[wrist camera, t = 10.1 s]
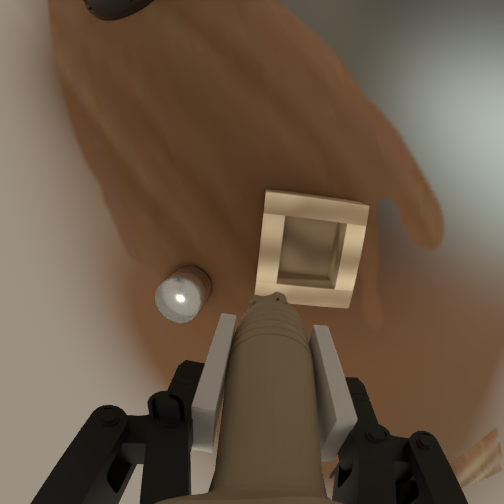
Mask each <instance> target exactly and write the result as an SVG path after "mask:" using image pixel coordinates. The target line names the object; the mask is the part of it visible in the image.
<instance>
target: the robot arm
mask: <svg viewBox="0 0 504 504" xmlns="http://www.w3.org/2000/svg"><path fill="white" fill-rule="evenodd" d="M151 1H153V0H84V2H85V4H86V7H87V9H88V10H89V12H90V13H92V14H93V15H94V16H96V17H97V18H99V19H102V20H115V19H119V18H123V17H126V16H128V15H130V14H133V13H135V12H136V11H138V10H140V9H142V8H143V7H145V6H146V5H148V4H149V3H150V2H151ZM235 323H236V315H231V314H224V313H222V314H221V317H220V320H219V323H218V326H217V329H216V332H215V335H214V338H213V341H212V344H211V347H210V350H209V354H208V356H207V359H206V363H205V364H204V363H199V362H193V361H188V360H185V361H184V362H183V363H181V364H180V365H179V366H178V368H177V370H176V372H175V375H174V377H173V379H172V382H171V383H170V386H169V388H168V390H167V391H160V392H158V393H155V394H154V395H152V396H151V397H150V398H149V400H148V409H149V415H143V416H133V415H126V413H125V412H124V411H123V410H122V409H120V408H119V407H117V406H113V405H103V406H101V407H99V408H97V409H96V410H95V411H93V413H92V414H91V415H90V417H89V418H88V420H87V421H86V423H85V424H84V425H83V427H82V428H81V430H80V431H79V432H78V434H77V435H76V437H75V438H74V440H73V441H72V442H71V444H70V445H69V447H68V448H67V450H66V451H65V453H64V454H63V456H62V457H61V458H60V460H59V461H58V463H57V464H56V466H55V467H54V469H53V470H52V472H51V473H50V475H49V476H48V478H47V479H46V481H45V483H44V484H43V485H42V487H41V488H40V490H39V491H38V493H37V495H36V496H35V498H34V499H33V501H32V502H31V504H118V503H119V501H120V499H121V497H122V495H123V492H124V490H125V488H126V486H127V484H128V482H129V480H130V478H131V476H132V473H133V471H134V469H135V467H136V465H137V464H144V466H143V475H142V485H141V495H140V504H155V503H157V502H159V501H162V500H166V499H170V498H175V497H180V496H187V495H191V466H190V465H191V462H190V452H191V448H192V446H193V449H194V450H199V451H204V452H210V453H212V451H213V447H214V442H215V437H216V432H217V427H218V422H219V417H220V412H221V407H222V402H223V398H224V390H225V380H226V371H227V366H228V360H229V355H230V350H231V346H232V342H233V338H234V332H235ZM309 346H310V349H311V354H312V359H313V365H314V376H315V388H316V401H317V415H318V427H319V439H320V452H321V461H333V460H334V459H335V457H336V456H337V454H338V457H339V463H338V465H337V466H336V468H335V469H334V470H333V471H332V473H331V475H330V478H332V477H333V476H334V475H335V478H334V487H333V496H332V501H336V502H340V503H343V504H468V502H467V500H466V498H465V496H464V493H463V491H462V489H461V487H460V485H459V483H458V481H457V479H456V476H455V474H454V472H453V470H452V468H451V466H450V464H449V462H448V460H447V458H446V456H445V455H444V453H443V451H442V449H441V447H440V445H439V443H438V441H437V439H436V438H435V437H434V436H433V435H432V434H430V433H429V432H425V431H417V432H415V433H413V434H412V435H411V437H410V438H402V437H396V436H392V435H390V433H389V431H388V430H387V429H386V428H385V427H383V426H381V425H379V424H378V421H377V419H376V416H375V413H374V410H373V408H372V405H371V402H370V401H369V397H368V395H367V392H366V389H365V386H364V384H363V383H362V382H361V381H360V380H359V379H358V378H352V377H351V378H350V377H344V374H343V370H342V367H341V364H340V362H339V358H338V355H337V352H336V349H335V346H334V343H333V341H332V337H331V335H330V331H329V329H328V326H321V325H314V326H313V330H312V333H311V337H310V341H309Z"/></svg>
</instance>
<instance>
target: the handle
mask: <svg viewBox="0 0 504 504" xmlns="http://www.w3.org/2000/svg"><path fill="white" fill-rule="evenodd" d="M248 306H249V307H248V310H247V311H246V312H245V314H244V315H243V317H242V319H241V321H240V323H239V325H238V327H237V329H236V332H235V335H234V338H233V342H232V346H231V350H230V355H229V360H228V366H227V371H226V380H225V390H224V400H223V410H222V419H221V427H220V434H219V443H218V450H217V458H216V466H215V467H216V468H215V472H214V475H213V479H212V482H211V485H210V488H209V491H208V493H205V494H198V495H187V496H180V497H175V498H170V499H166V500H162V501H159V502H157V503H155V504H343V503H340V502H336V501H332V500H331V499H330V498H328V497H327V494H326V489H325V484H324V479H323V475H322V467H321V452H320V439H319V427H318V415H317V401H316V388H315V376H314V365H313V359H312V354H311V349H310V346H309V342H308V339H307V336H306V333H305V330H304V327H303V325H302V323H301V321H300V319H299V315H298V312H297V311H296V309H295V308H293V307H291V306H290V305H289V304H288V302H287V299H286V296H285V295H284V294H282V293H280V292H274V293H273V294H271V295H267V296H259V295H255V296H254V297H252V298H251V300H250V302H249V305H248Z"/></svg>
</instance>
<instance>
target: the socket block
mask: <svg viewBox="0 0 504 504" xmlns="http://www.w3.org/2000/svg"><path fill="white" fill-rule="evenodd" d="M368 212H369V206H368V205H366V204H363V203H361V202H358V201H353V200H347V199H340V198H333V197H327V196H319V195H312V194H305V193H297V192H289V191H280V190H271V189H266V195H265V205H264V214H263V223H262V233H261V242H260V251H259V260H258V269H257V278H256V287H255V295H259V296H267V295H271V294H273V293H274V292H280V293H282V294H284V295H285V296H286V299H287V302H288V303H290V304H301V305H313V306H325V307H338V308H349V305H350V301H351V297H352V292H353V288H354V284H355V280H356V275H357V271H358V266H359V261H360V256H361V251H362V246H363V241H364V236H365V230H366V224H367V218H368Z"/></svg>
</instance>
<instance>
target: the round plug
mask: <svg viewBox="0 0 504 504" xmlns="http://www.w3.org/2000/svg"><path fill="white" fill-rule="evenodd" d="M210 293H211V283H210V280H209V278H208V276H207V275H206V274H205V273H204V272H203V271H202V270H201V269H199V268H197V267H194V266H184V267H182V268H180V269H179V270H177V271H176V272H175V273H174V274H173V275H171V276H170V277H169V278H168V279H167V280H166V281H164V282H163V283H162V284H161V285H160V286H159V287H158V289H157V291H156V295H155V301H156V304H157V307H158V309H159V311H160V312H161V313H162V314H163V315H164V316H165V317H166V318H167V319H169V320H171V321H173V322H176V323H186V322H189V321H190V320H192V319H193V318H194V317H195V315H196V314H197V313H198V311H199V310H200V308H201V307H202V305H203V304H204V303H205V301H206V300H207V298H208V297H209V295H210Z"/></svg>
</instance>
